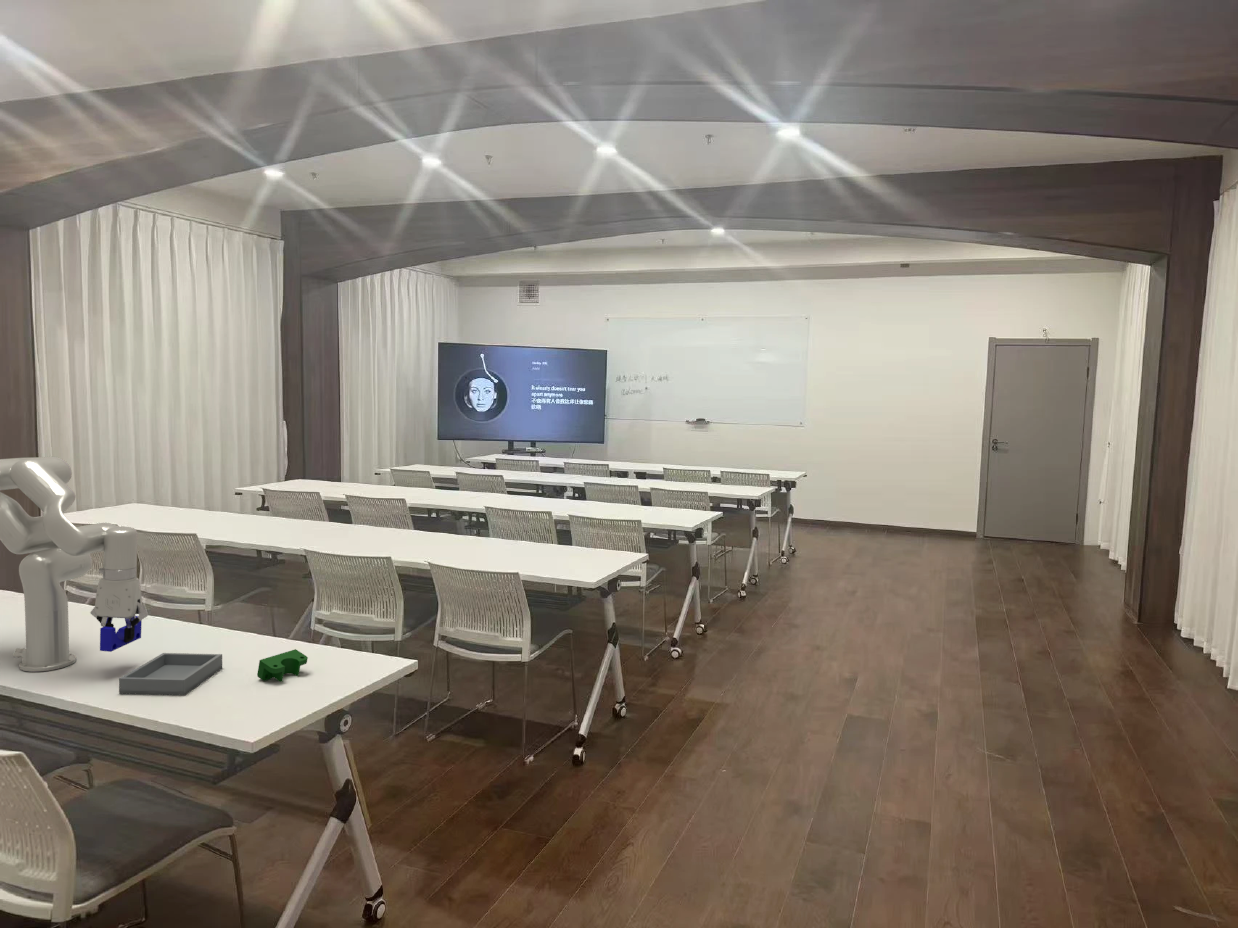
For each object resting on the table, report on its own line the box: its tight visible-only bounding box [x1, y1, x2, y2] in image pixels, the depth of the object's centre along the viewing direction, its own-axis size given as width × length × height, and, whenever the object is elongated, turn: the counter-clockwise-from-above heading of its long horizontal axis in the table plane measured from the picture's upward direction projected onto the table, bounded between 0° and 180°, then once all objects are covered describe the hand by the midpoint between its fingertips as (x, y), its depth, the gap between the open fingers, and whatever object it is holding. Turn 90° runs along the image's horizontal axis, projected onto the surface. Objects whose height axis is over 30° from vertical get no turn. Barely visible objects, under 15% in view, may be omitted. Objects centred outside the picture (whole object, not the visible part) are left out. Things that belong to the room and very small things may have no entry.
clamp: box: [257, 648, 309, 683], centre depth 212 cm, size 12×6×9 cm, turn 144°
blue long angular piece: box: [99, 615, 143, 653], centre depth 211 cm, size 12×4×6 cm, turn 177°
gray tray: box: [118, 652, 223, 697], centre depth 207 cm, size 16×20×4 cm
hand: (118, 639), depth 211 cm, fingers closed on blue long angular piece, 4 cm apart
